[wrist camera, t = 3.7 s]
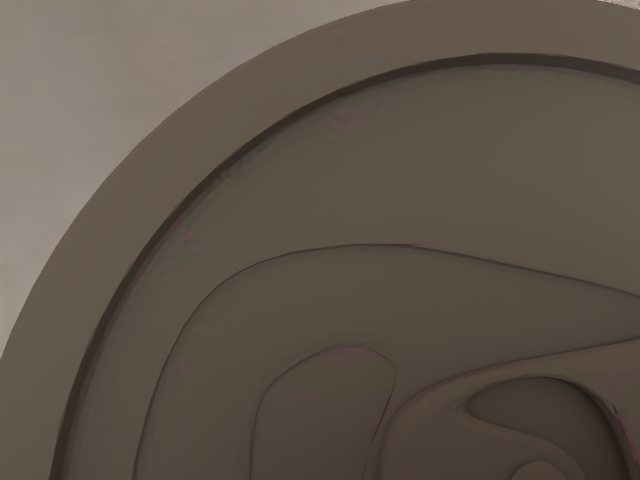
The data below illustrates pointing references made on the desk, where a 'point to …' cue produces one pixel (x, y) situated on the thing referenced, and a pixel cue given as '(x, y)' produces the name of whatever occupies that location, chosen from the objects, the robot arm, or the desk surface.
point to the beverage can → (358, 265)
